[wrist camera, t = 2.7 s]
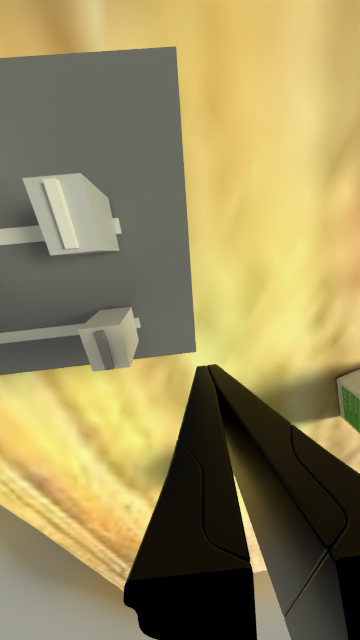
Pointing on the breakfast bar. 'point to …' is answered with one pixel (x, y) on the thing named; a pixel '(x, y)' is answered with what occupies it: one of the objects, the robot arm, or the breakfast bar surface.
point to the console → (114, 182)
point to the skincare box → (350, 398)
